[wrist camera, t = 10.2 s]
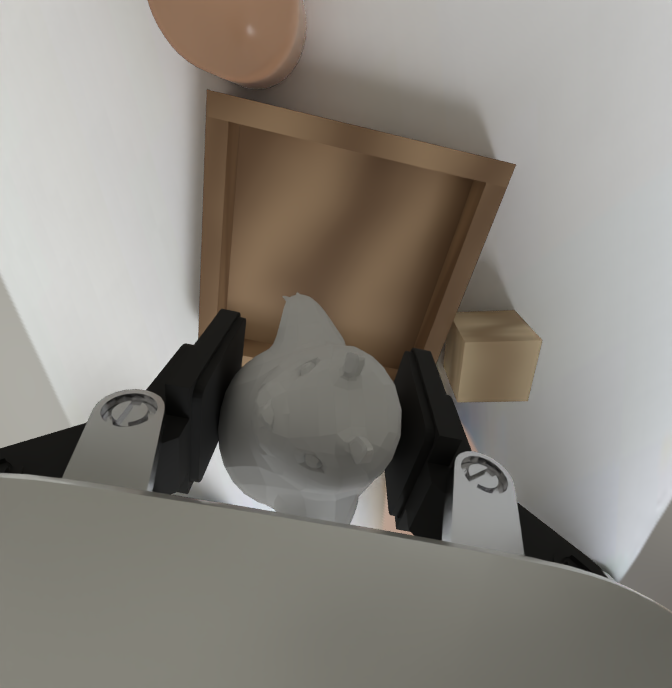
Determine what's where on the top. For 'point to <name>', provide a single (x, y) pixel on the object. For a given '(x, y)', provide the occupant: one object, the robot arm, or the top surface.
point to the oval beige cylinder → (236, 37)
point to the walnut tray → (339, 226)
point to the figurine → (309, 419)
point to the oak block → (491, 356)
